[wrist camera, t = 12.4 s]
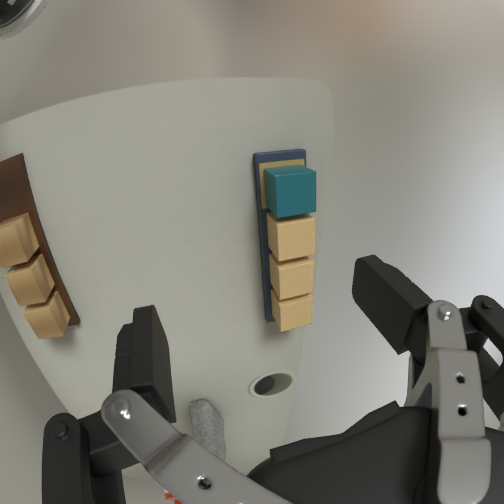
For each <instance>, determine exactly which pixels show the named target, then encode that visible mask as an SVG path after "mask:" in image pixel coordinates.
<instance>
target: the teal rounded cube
mask: <svg viewBox="0 0 504 504" xmlns="http://www.w3.org/2000/svg"><path fill="white" fill-rule="evenodd" d="M264 179H265V193H266V206H267V207H268V208H269V209H270V210H271V212H272V213H273V214H274V215H275V216H276V217H277V218H280V217H286V216H293V215H299V214H305V213H311V212H316V172H315V171H313V170H311V169H309V168H307V167H305V166H303V165H291V166H282V167H273V168H265V169H264Z"/></svg>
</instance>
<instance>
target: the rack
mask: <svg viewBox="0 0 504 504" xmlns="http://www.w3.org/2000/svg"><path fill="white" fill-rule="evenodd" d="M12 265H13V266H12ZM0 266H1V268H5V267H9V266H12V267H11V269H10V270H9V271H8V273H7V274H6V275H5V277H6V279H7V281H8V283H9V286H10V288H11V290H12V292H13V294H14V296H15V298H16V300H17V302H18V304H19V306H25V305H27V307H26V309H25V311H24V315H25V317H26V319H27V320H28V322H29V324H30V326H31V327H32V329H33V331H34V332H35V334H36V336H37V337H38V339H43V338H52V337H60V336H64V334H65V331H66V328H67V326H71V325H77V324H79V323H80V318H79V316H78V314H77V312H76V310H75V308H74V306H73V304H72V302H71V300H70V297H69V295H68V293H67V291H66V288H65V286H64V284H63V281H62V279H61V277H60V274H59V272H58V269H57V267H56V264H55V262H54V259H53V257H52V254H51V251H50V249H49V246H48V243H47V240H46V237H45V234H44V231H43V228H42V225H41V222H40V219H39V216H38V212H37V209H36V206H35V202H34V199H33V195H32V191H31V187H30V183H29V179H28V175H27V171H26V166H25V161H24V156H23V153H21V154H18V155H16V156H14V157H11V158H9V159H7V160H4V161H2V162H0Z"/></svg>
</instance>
